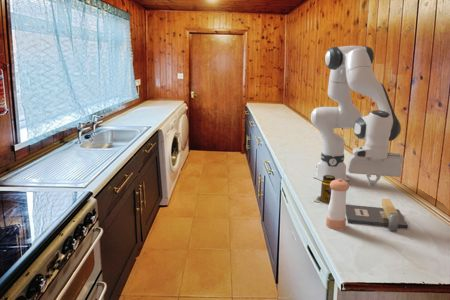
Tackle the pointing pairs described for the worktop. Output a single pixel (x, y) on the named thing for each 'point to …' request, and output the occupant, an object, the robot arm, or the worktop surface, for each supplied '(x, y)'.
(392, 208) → the tan piece
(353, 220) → the board
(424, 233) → the worktop surface
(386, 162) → the robot arm
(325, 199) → the condiment
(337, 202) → the pepper shaker
